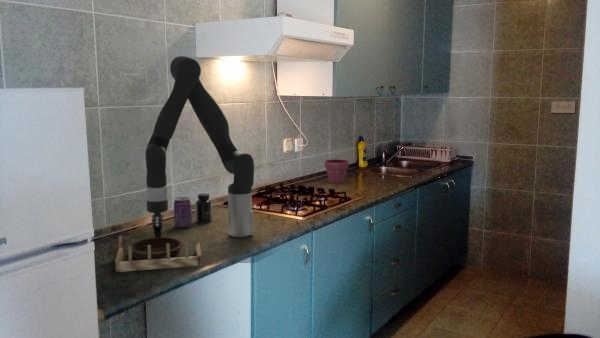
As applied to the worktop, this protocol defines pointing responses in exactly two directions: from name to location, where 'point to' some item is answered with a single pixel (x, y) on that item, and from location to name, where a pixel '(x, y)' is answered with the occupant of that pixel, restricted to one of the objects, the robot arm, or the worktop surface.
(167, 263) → the rack
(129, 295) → the worktop surface
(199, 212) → the supplement bottle
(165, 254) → the dish
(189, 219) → the beverage can
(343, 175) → the plant pot
